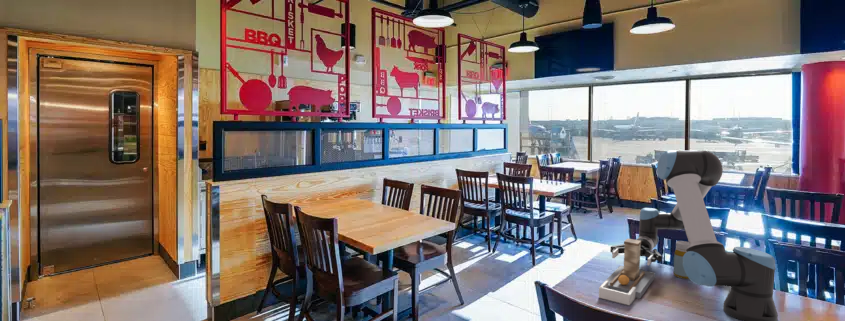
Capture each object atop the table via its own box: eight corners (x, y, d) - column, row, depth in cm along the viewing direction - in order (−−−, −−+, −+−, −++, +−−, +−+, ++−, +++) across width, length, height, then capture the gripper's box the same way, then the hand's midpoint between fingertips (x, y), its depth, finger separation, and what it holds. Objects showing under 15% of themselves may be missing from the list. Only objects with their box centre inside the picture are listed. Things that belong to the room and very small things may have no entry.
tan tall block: (639, 275, 178) (641, 240, 176) (634, 280, 171) (636, 245, 170) (626, 272, 181) (627, 238, 180) (620, 277, 175) (622, 243, 173)
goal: (635, 298, 162) (636, 287, 161) (629, 306, 155) (629, 294, 154) (605, 290, 169) (606, 280, 168) (598, 298, 162) (599, 287, 161)
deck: (654, 278, 181) (654, 272, 181) (639, 298, 161) (640, 292, 161) (620, 270, 190) (620, 265, 189) (602, 289, 170) (602, 283, 170)
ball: (630, 284, 168) (630, 274, 168) (627, 287, 165) (627, 277, 165) (619, 282, 171) (619, 272, 171) (616, 285, 168) (617, 275, 168)
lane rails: (644, 274, 179) (644, 271, 178) (632, 290, 163) (632, 287, 162) (624, 270, 184) (624, 267, 184) (609, 285, 168) (609, 282, 168)
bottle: (669, 274, 184) (671, 241, 183) (680, 272, 187) (681, 239, 186) (685, 280, 178) (687, 246, 176) (695, 277, 181) (697, 244, 179)
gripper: (673, 259, 184) (663, 274, 167) (613, 248, 199) (599, 260, 183) (674, 243, 183) (664, 256, 167) (614, 233, 199) (599, 244, 183)
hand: (630, 258), depth 175 cm, fingers open, 13 cm apart
